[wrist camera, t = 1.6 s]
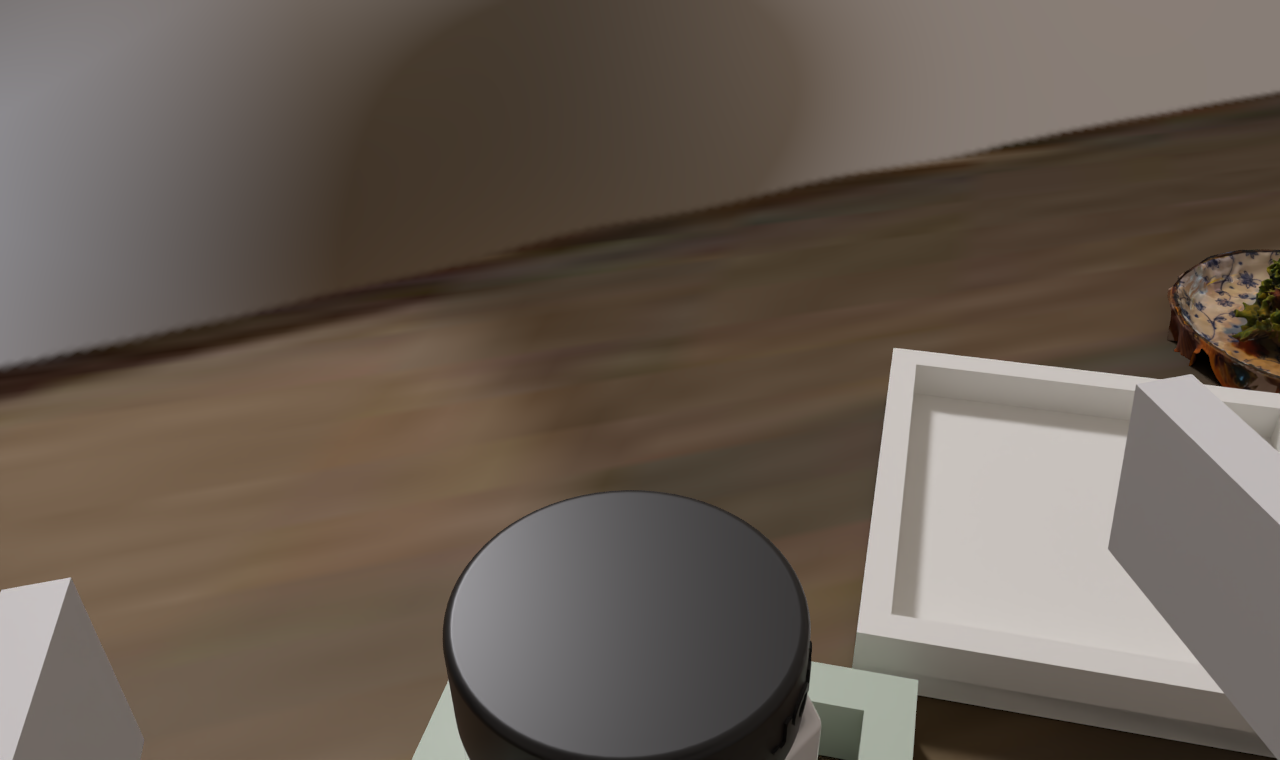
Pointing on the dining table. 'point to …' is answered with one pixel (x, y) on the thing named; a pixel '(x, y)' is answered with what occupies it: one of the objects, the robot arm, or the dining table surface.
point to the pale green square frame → (843, 697)
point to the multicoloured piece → (1231, 317)
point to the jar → (630, 637)
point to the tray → (1026, 552)
